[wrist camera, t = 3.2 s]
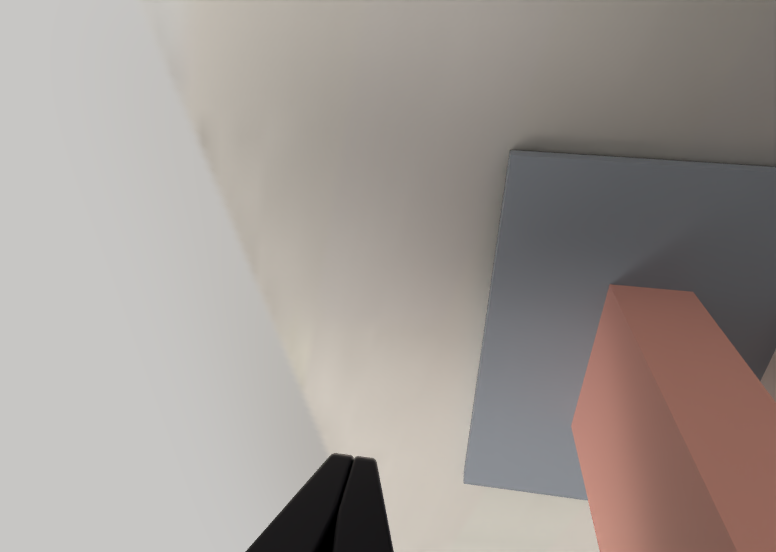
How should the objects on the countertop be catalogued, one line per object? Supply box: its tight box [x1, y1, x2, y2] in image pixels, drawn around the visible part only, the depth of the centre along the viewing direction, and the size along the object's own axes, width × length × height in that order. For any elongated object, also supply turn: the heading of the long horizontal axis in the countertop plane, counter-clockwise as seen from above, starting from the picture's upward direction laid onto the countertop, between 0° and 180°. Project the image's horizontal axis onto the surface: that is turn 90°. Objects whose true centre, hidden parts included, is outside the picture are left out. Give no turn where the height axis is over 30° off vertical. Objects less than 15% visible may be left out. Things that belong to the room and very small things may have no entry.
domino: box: [571, 284, 776, 552], centre depth 9 cm, size 4×2×9 cm, turn 179°
